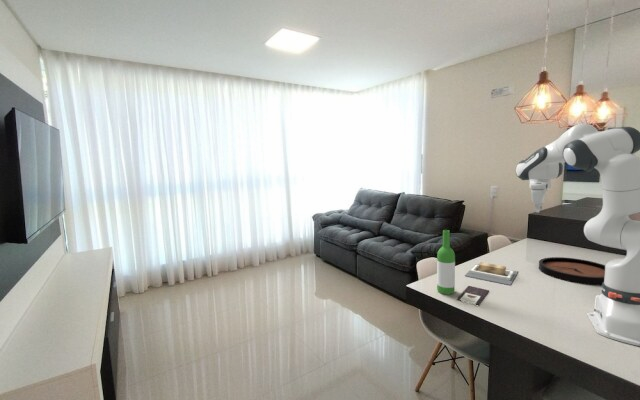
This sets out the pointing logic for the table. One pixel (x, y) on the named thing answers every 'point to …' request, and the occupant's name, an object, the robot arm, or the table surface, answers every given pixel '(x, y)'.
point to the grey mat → (492, 275)
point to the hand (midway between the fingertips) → (538, 210)
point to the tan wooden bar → (492, 269)
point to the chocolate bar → (473, 295)
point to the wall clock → (573, 270)
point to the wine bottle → (446, 266)
